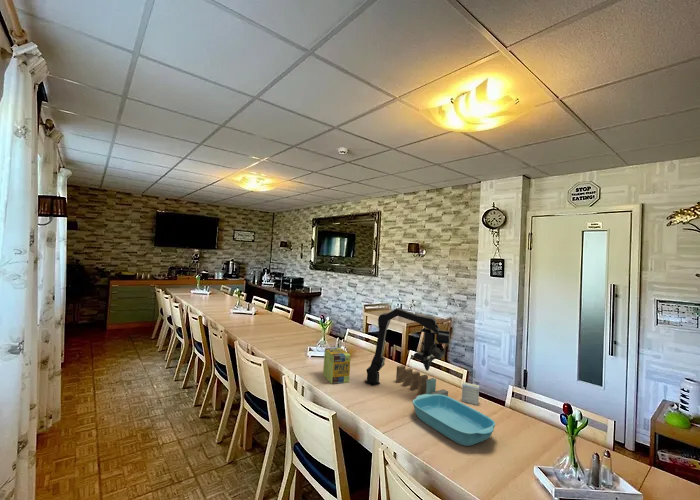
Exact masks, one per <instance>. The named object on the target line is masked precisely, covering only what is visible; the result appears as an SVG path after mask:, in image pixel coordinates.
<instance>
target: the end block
mask: <svg viewBox="0 0 700 500" xmlns="http://www.w3.org/2000/svg"><path fill="white" fill-rule="evenodd" d="M431 394H441V395H445V396H448V397H449V391H448V390H446V389H444V388H443V389H439V390H435V392H432V393H431Z"/></svg>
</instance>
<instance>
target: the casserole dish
mask: <svg viewBox="0 0 700 500" xmlns="http://www.w3.org/2000/svg"><path fill="white" fill-rule="evenodd" d="M412 406H413V408H414V412H415V414H416V416H417V418H418V419H420V421H422V422H423V423H424V424H425V425H426V424H427V426H429V427H431V428H432V429H434V430H435V431H437V432H439V433H440V434H441V435H443V436H445V437H446V438H447V439H450V440H452V441H453V442H455V443H457V444H458V445H460V446H465V447H469V446H473V445H476V444H479V443H482V442H484V441H486V440H488V439H489V438H490V437H491V436H492V433H493V432H494V431H495V427H496V422H495V420H493V418H491V417H489V416H488V415H486V414H484V413H482V412H480V411H478V410H477V409H474V408H473V407H470V406H468V405H466V404H465V403H464V402H462V401H459V400H456V399H454V398H453V397H450V396H449V395H448V396H445V395H441V394H426V393H424V394H419V395H417V396H416V397H415V398H414V399H413V400H412Z"/></svg>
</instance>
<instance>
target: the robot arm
mask: <svg viewBox="0 0 700 500" xmlns="http://www.w3.org/2000/svg"><path fill="white" fill-rule="evenodd" d="M396 317H400V318H404V319H405V320H408V321H412V322H415V323H417V324H419V325H420V326H422V327H423V328H421V330H420V332H422V333H423V341H422V342H421V345H422V349H421V351H417V352H414V353H413V359H415V360H419V361H421V362H422V364H423V367H424V369H425V371H426V372H427V371H429V370H430V367H431V364H432V363H433V361H434V360H436V359H437V360H440V359H443V358H444V356H446V349H445V348H444V347H441V348H440V347H437V343H439V344H444V345H450V343H451V342H450V341H451V340H450V338H451V335H450V333H451V331H450V330H443V329H441V328H440V327H439V325H438V324H437V323H438V321H437V320H436V318H435V317H434V316H429V315H420V314H417V313H413V312H412V311H407V310H405V309H402V308H400V307H396V308H395V309H394V310H391V311H389V312H383V313H382V314H380V315H378V318H377V321H378V322H377V326H378V334H377V341H376V345H375V346H376V347H375V352H374V355H373V357H372V360H371V363H370V366H368V367H367V369H365V370H366V380H365V381H364V383H366V384H367V385H369V386H372V387H373V386H378V385H380V384H381V382H380V370H382V368H383V367H384V366H385V365H386V364H385V362H386V357H384V354H383V353H384V348H385V342H386V336H387V330H388V328H389V326H390V323H391V320H392V319H394V318H396ZM436 342H437V343H436Z"/></svg>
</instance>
